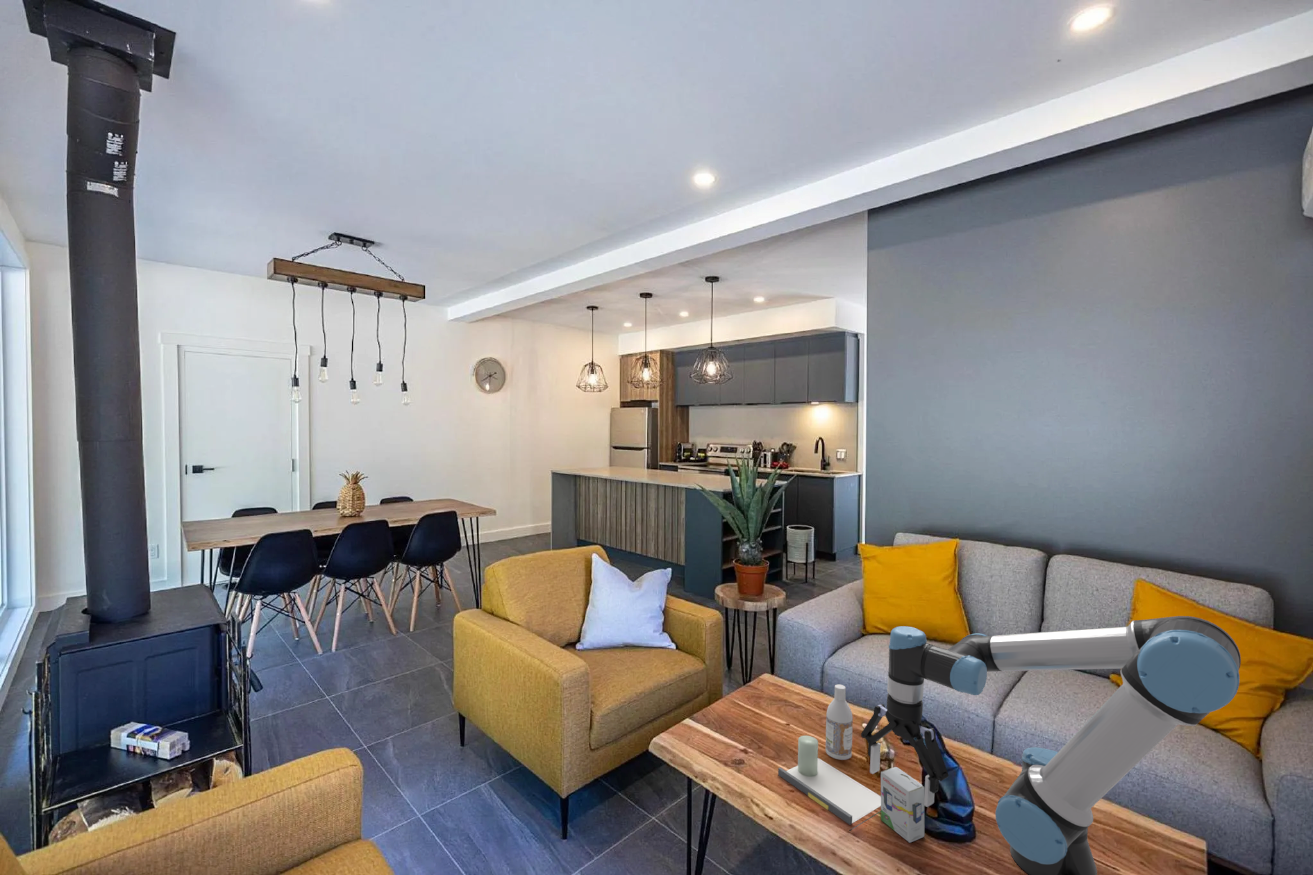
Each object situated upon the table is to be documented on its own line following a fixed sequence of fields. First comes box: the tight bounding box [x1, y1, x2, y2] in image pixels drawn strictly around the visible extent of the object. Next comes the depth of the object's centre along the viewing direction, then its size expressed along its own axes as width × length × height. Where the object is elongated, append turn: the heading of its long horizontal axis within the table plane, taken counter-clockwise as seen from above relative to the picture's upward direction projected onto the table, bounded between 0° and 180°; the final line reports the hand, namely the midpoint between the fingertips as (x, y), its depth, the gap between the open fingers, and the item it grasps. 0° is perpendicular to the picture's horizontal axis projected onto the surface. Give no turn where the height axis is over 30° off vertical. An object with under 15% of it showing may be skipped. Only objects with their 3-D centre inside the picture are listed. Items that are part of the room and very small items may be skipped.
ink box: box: [880, 766, 925, 844], centre depth 131 cm, size 9×5×12 cm, turn 25°
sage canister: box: [797, 735, 819, 777], centre depth 150 cm, size 5×5×8 cm
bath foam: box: [825, 684, 854, 761], centre depth 159 cm, size 7×7×20 cm
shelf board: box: [777, 757, 881, 832], centre depth 143 cm, size 22×15×3 cm
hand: (900, 787), depth 132 cm, fingers open, 13 cm apart
